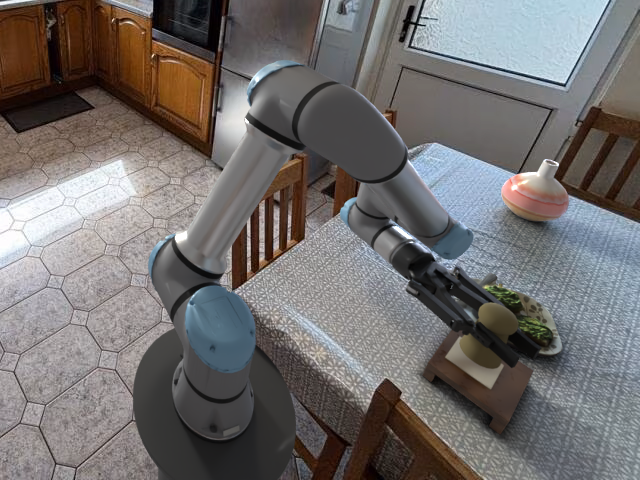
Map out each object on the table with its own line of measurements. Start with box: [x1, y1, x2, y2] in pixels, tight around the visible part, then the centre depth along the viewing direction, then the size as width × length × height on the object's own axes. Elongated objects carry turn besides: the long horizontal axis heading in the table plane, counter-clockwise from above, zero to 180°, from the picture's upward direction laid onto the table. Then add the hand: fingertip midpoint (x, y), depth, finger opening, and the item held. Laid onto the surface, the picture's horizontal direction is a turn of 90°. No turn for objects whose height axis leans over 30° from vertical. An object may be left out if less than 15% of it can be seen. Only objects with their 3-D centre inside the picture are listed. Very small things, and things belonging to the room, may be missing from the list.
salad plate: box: [456, 272, 564, 359], centre depth 89 cm, size 19×18×5 cm
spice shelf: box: [421, 329, 535, 435], centre depth 77 cm, size 12×14×4 cm
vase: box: [500, 159, 570, 222], centre depth 114 cm, size 14×14×18 cm
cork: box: [459, 303, 518, 369], centre depth 73 cm, size 6×6×11 cm
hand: (526, 357), depth 68 cm, fingers closed on cork, 4 cm apart
